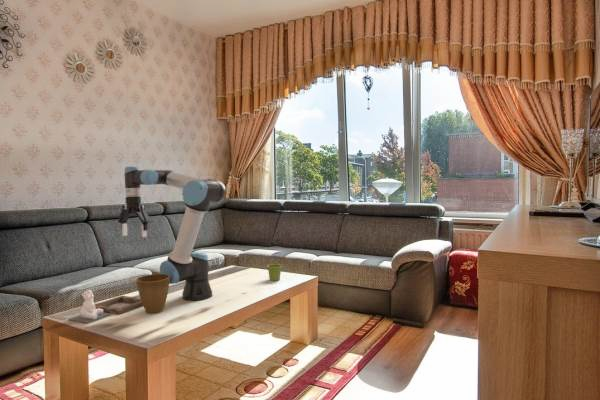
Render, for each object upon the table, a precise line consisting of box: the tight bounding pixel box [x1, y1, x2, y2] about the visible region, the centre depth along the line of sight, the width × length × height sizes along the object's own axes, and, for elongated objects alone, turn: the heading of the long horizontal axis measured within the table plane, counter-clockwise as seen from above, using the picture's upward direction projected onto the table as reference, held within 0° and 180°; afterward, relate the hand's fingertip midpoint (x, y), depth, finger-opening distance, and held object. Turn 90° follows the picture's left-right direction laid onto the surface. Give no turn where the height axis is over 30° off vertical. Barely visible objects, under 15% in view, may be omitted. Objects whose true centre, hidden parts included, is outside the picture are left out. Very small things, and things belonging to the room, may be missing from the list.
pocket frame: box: [95, 295, 144, 316], centre depth 205 cm, size 19×19×2 cm
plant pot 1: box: [135, 273, 170, 315], centre depth 196 cm, size 15×15×16 cm
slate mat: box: [67, 312, 112, 324], centre depth 189 cm, size 12×12×1 cm
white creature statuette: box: [79, 289, 104, 320], centre depth 188 cm, size 10×9×12 cm
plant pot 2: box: [266, 263, 283, 282], centre depth 255 cm, size 9×9×9 cm
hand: (134, 236), depth 223 cm, fingers open, 13 cm apart
